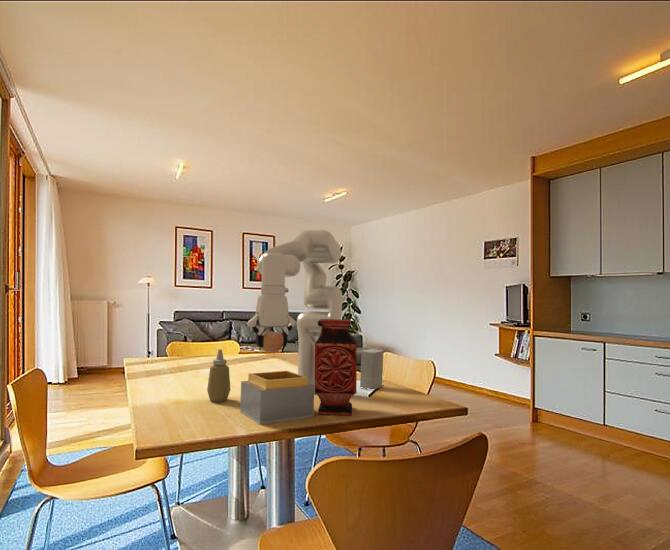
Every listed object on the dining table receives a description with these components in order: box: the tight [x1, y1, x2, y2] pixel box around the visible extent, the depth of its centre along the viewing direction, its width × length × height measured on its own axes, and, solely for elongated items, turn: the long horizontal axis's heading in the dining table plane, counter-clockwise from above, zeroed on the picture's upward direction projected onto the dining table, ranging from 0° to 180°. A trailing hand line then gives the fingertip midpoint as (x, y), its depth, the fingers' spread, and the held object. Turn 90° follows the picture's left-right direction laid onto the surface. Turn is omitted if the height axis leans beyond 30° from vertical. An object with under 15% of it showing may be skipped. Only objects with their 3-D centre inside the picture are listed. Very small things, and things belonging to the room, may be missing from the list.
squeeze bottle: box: [206, 348, 231, 403], centre depth 161 cm, size 8×8×18 cm
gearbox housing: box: [239, 370, 315, 425], centre depth 143 cm, size 18×16×12 cm
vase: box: [314, 319, 358, 416], centre depth 150 cm, size 14×14×30 cm
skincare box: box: [359, 348, 384, 390], centre depth 189 cm, size 8×7×16 cm
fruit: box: [261, 327, 284, 354], centre depth 144 cm, size 8×7×8 cm
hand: (271, 346), depth 144 cm, fingers closed on fruit, 7 cm apart
